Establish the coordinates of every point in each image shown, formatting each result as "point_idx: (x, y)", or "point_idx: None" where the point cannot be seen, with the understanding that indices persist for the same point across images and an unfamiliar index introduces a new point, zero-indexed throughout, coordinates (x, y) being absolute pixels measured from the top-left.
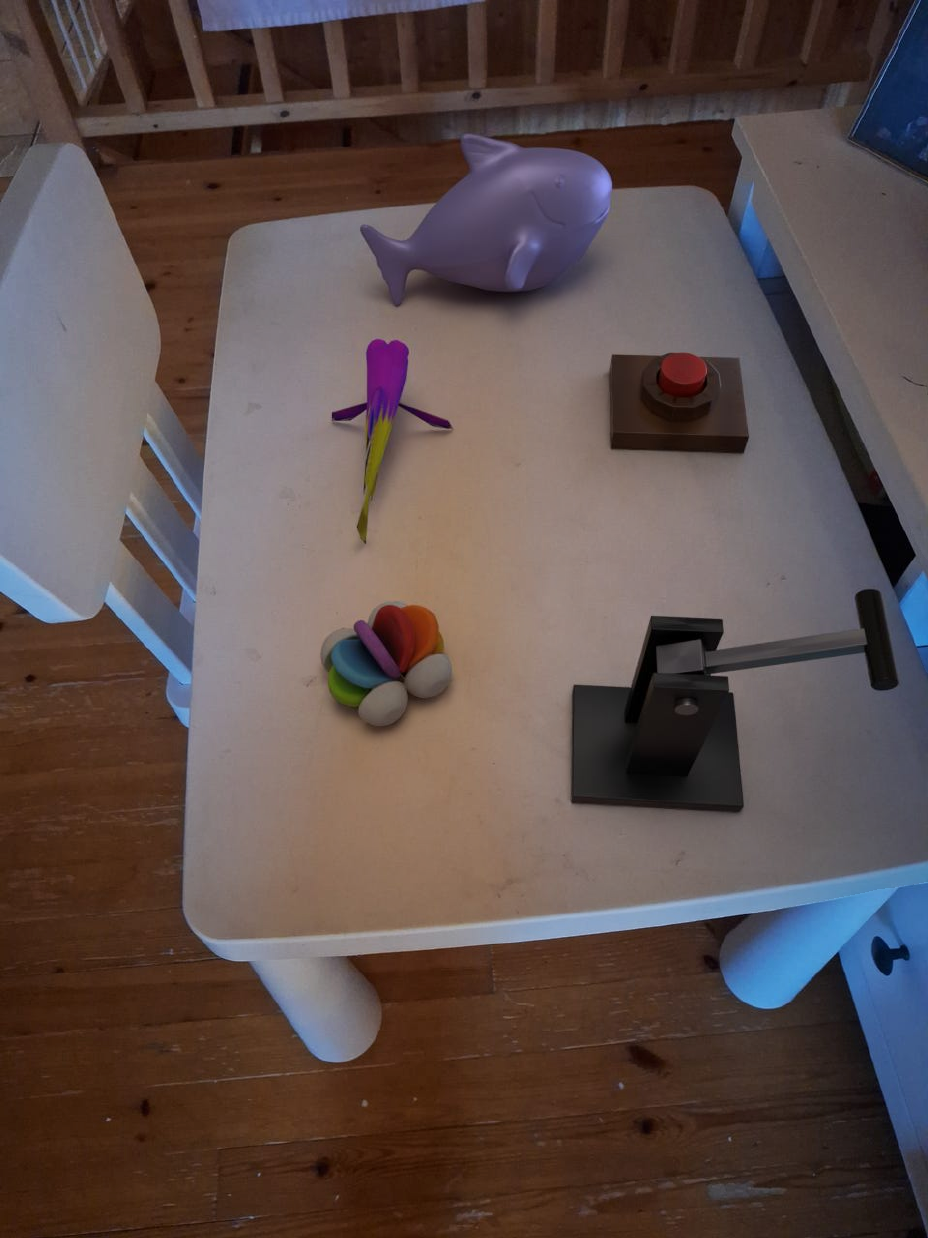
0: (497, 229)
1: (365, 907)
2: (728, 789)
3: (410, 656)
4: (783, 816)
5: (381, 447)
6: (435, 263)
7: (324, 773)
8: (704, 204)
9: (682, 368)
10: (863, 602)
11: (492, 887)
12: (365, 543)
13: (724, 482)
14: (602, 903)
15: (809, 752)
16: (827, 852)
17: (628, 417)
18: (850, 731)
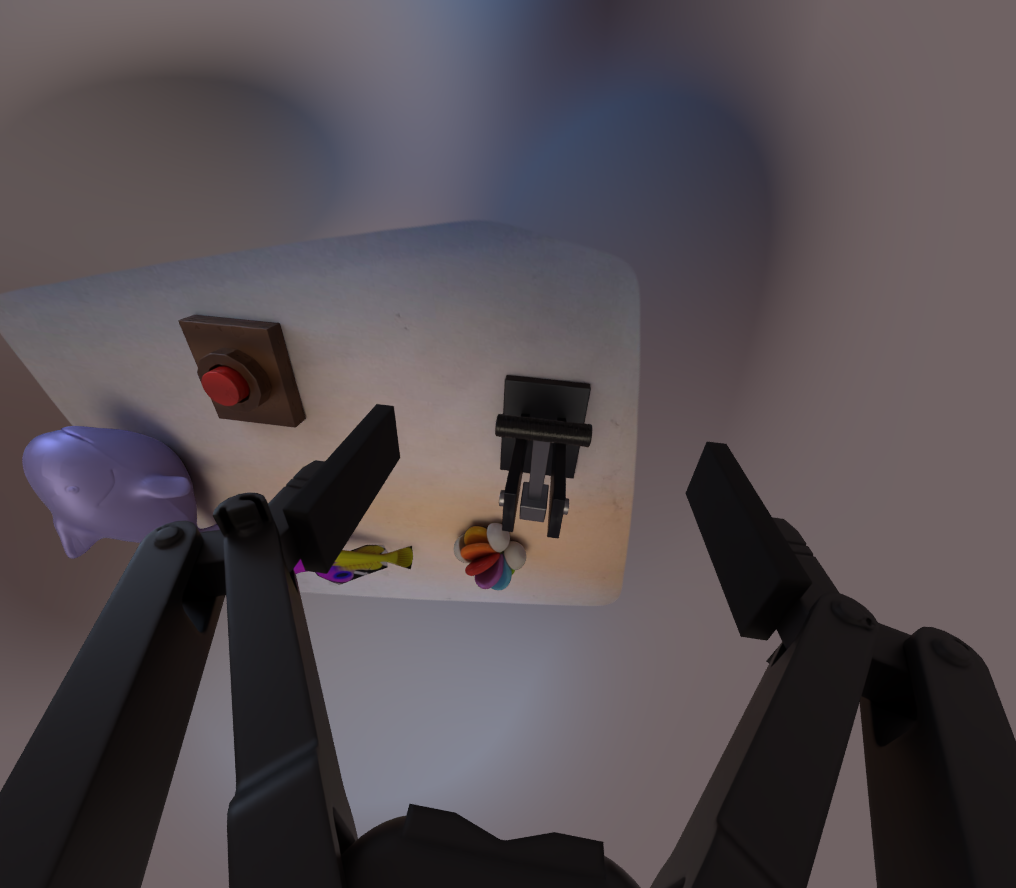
0: (145, 512)
1: (617, 556)
2: (577, 396)
3: (494, 558)
4: (595, 355)
5: (353, 559)
6: None
7: (547, 566)
8: None
9: (221, 390)
10: (508, 437)
11: (616, 510)
12: (411, 546)
13: (314, 343)
14: (634, 464)
15: (549, 327)
16: (626, 331)
17: (278, 415)
18: (533, 291)
